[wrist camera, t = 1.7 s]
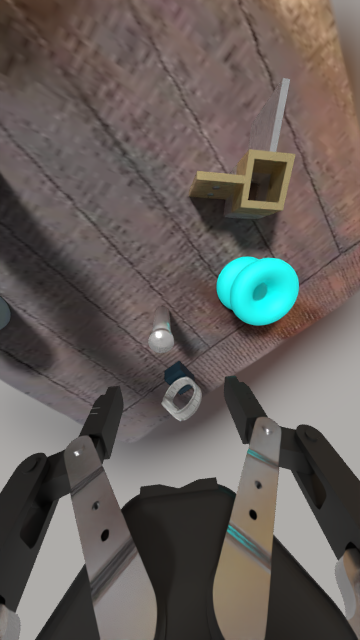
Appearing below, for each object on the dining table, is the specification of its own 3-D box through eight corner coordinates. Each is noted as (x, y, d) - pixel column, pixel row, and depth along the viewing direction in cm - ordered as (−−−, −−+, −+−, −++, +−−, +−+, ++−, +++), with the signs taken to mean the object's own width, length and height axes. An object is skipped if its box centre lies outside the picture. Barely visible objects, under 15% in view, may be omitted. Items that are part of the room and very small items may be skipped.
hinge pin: (153, 320, 34) (148, 353, 23) (153, 304, 33) (148, 330, 22) (170, 320, 35) (173, 352, 24) (171, 304, 34) (174, 330, 22)
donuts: (255, 246, 21) (318, 272, 23) (227, 248, 31) (274, 266, 33) (222, 318, 25) (280, 335, 27) (206, 300, 34) (250, 314, 36)
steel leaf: (223, 217, 29) (240, 207, 22) (234, 121, 24) (260, 74, 18) (256, 219, 29) (282, 210, 23) (273, 126, 25) (311, 82, 18)
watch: (158, 375, 40) (155, 418, 29) (185, 356, 38) (193, 394, 28) (173, 389, 42) (175, 434, 31) (199, 371, 40) (211, 412, 30)
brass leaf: (188, 214, 28) (195, 203, 22) (190, 170, 26) (199, 143, 19) (256, 219, 29) (282, 210, 23) (264, 177, 27) (295, 154, 21)
